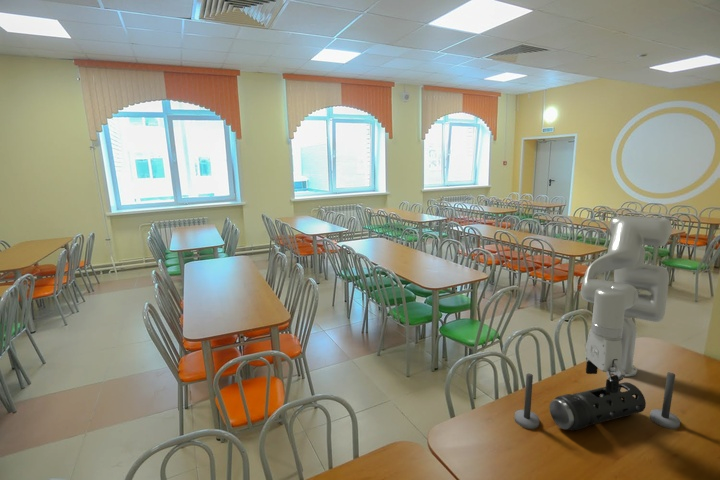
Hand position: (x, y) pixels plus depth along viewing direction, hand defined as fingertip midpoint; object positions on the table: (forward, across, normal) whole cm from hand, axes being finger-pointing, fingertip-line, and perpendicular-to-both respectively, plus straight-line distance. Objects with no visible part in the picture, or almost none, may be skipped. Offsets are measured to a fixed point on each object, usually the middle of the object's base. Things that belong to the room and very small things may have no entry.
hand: (600, 382), depth 108 cm
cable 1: (+14, -1, -21) cm, 25 cm away
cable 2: (+14, -1, +21) cm, 25 cm away
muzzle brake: (+14, -1, 0) cm, 14 cm away
